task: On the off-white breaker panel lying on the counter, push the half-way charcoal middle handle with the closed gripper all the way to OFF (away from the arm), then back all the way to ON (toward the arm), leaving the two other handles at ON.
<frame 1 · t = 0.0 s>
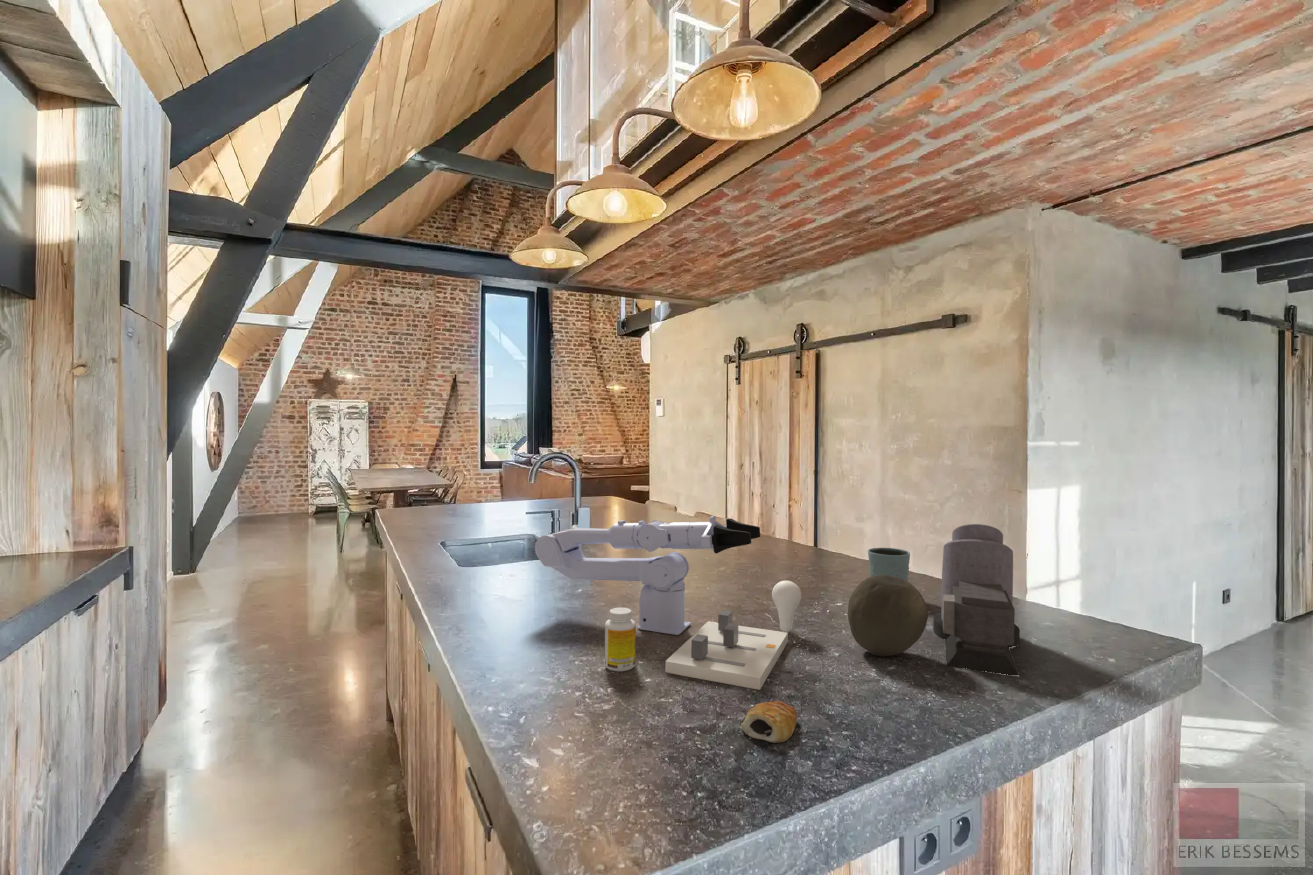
hand: (755, 535, 121), 22 cm above the countertop, tool horizontal, fingers open, 7 cm apart
supplement bottle: (620, 667, 108), on the countertop
cantaloupe: (885, 654, 115), on the countertop
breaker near: (699, 646, 107), point 4 cm above the countertop, slide at -3.5 cm
drinking glass: (888, 597, 154), on the countertop
lightbulb: (786, 633, 127), on the countertop
breaker tripped: (730, 635, 113), point 4 cm above the countertop, slide at 0.0 cm
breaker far: (725, 620, 122), point 4 cm above the countertop, slide at -3.5 cm
juicer: (976, 646, 121), on the countertop
breaker panel: (730, 656, 113), on the countertop
pastry: (770, 731, 86), on the countertop
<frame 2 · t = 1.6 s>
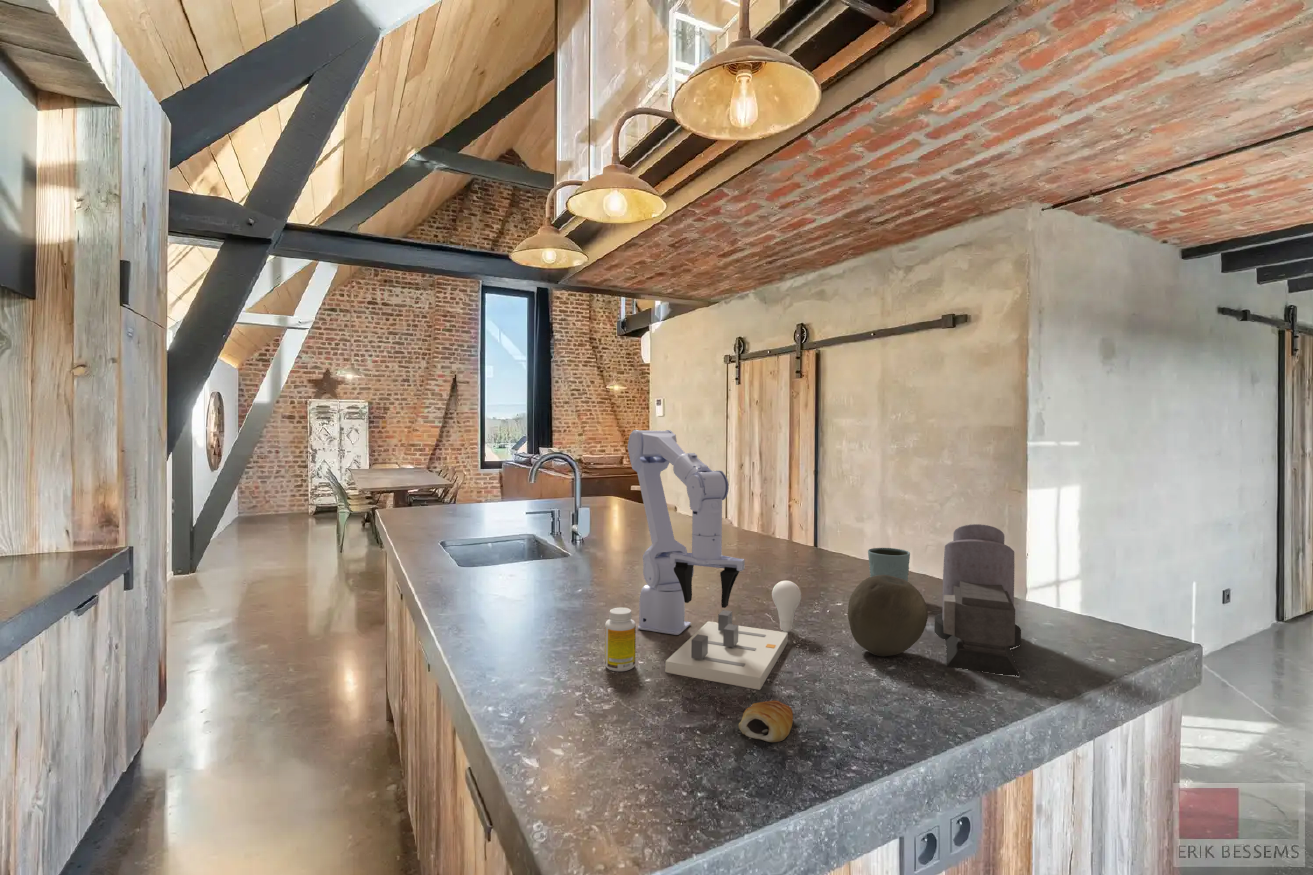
hand: (706, 603, 115), 9 cm above the countertop, tool pointing down, fingers open, 7 cm apart
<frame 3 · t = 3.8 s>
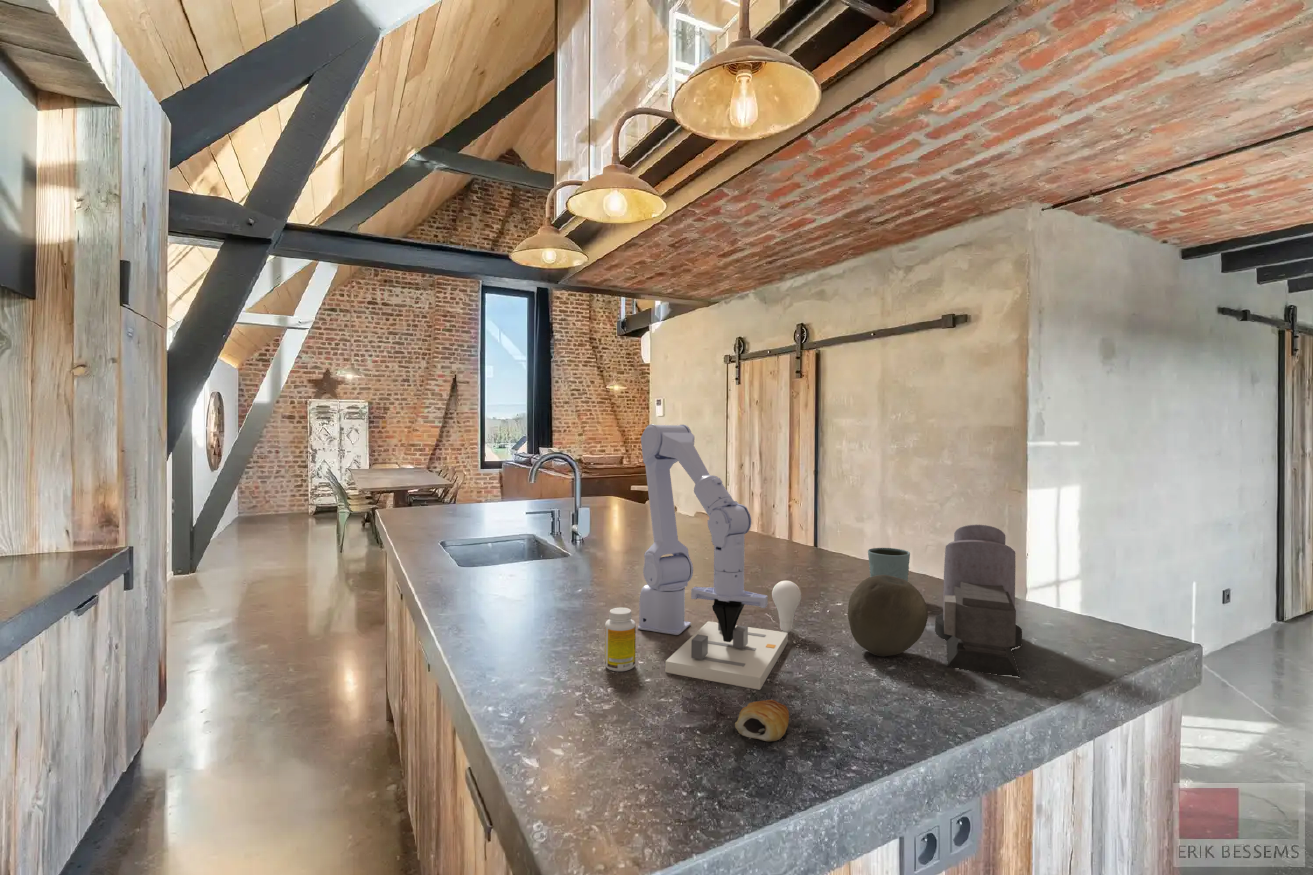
hand: (728, 640, 113), 3 cm above the countertop, tool pointing down, fingers closed
breaker tripped: (740, 636, 112), point 4 cm above the countertop, slide at 1.9 cm, touching gripper
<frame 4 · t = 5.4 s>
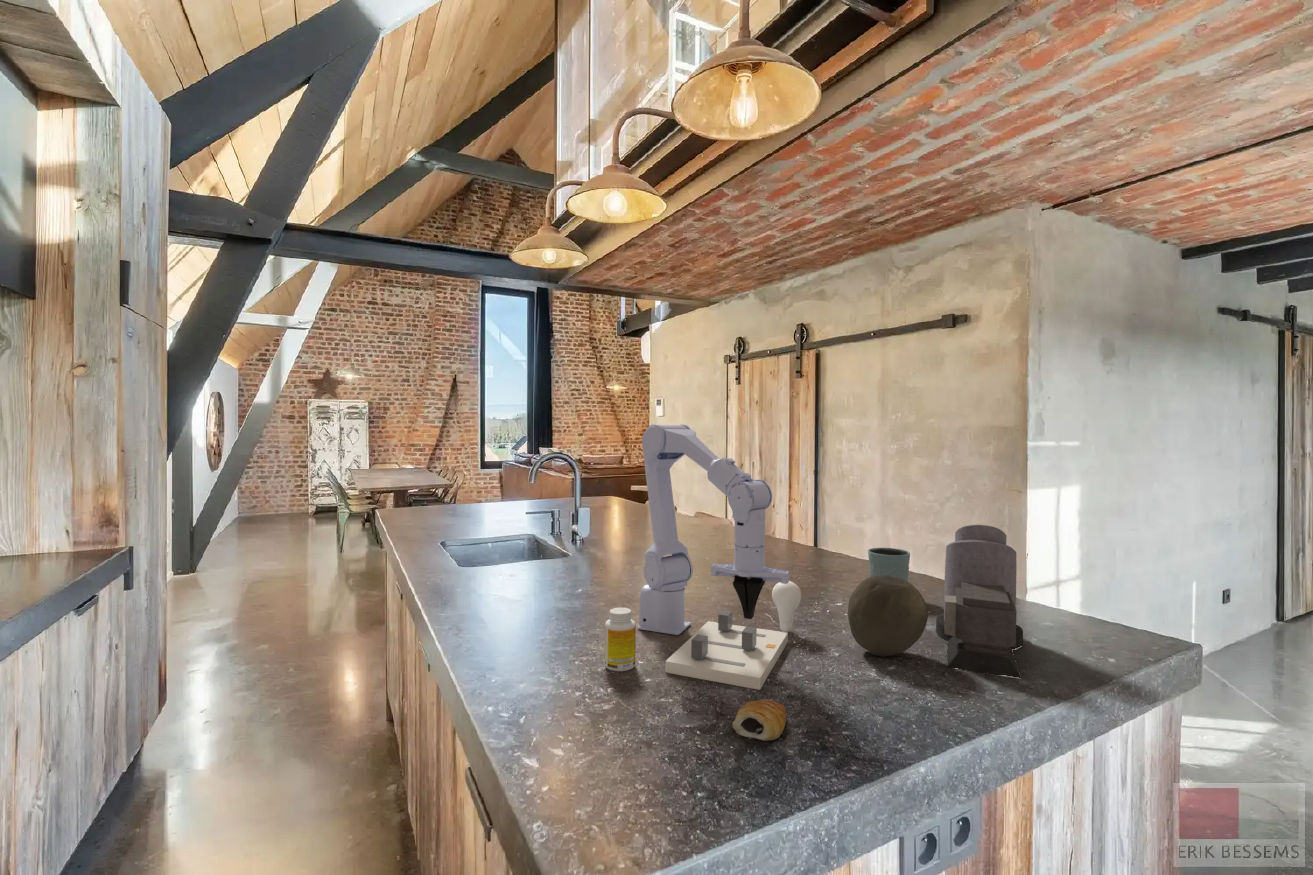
hand: (748, 617, 112), 8 cm above the countertop, tool pointing down, fingers closed
breaker tripped: (749, 638, 112), point 4 cm above the countertop, slide at 3.6 cm
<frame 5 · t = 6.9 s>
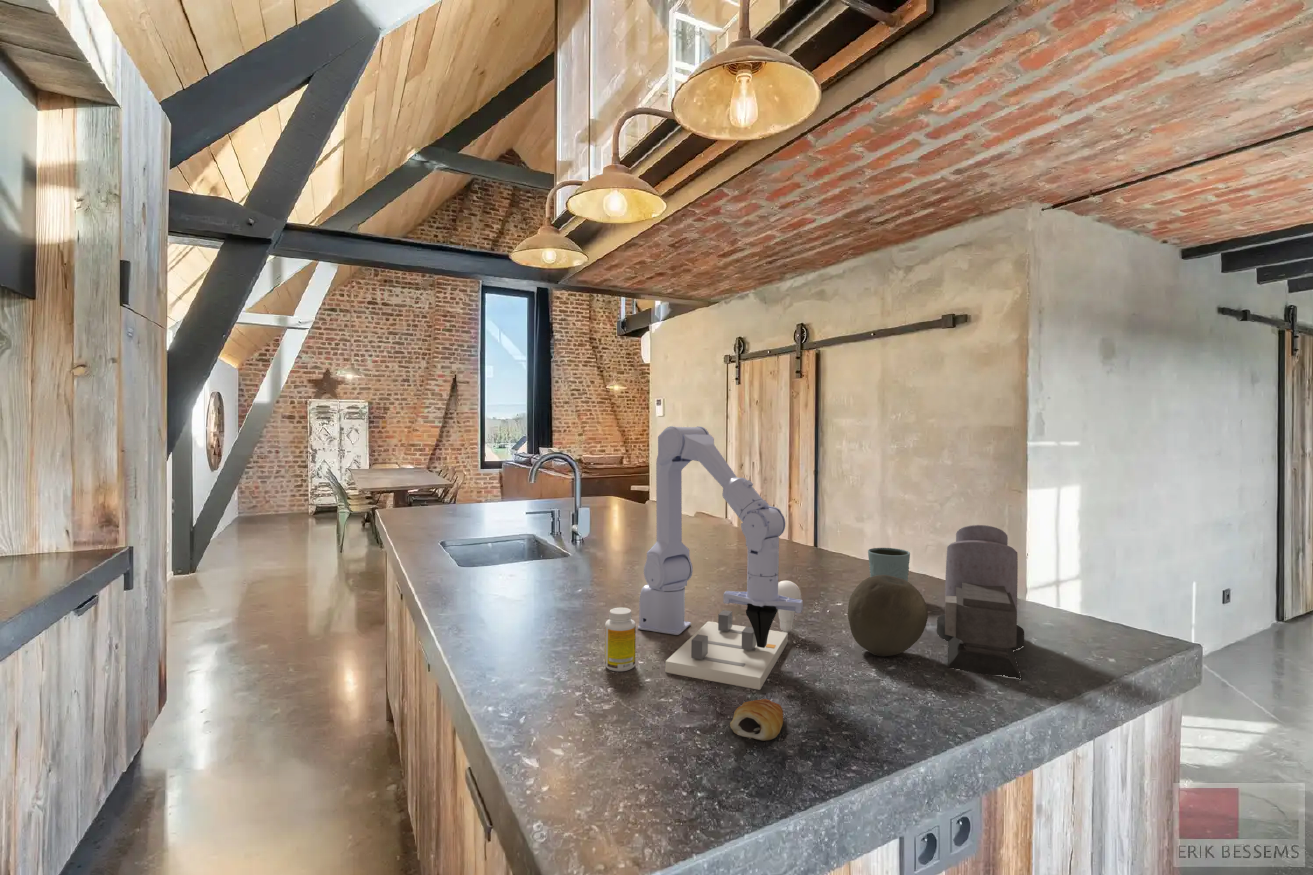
hand: (761, 645, 111), 3 cm above the countertop, tool pointing down, fingers closed
breaker tripped: (749, 638, 112), point 4 cm above the countertop, slide at 3.5 cm, touching gripper
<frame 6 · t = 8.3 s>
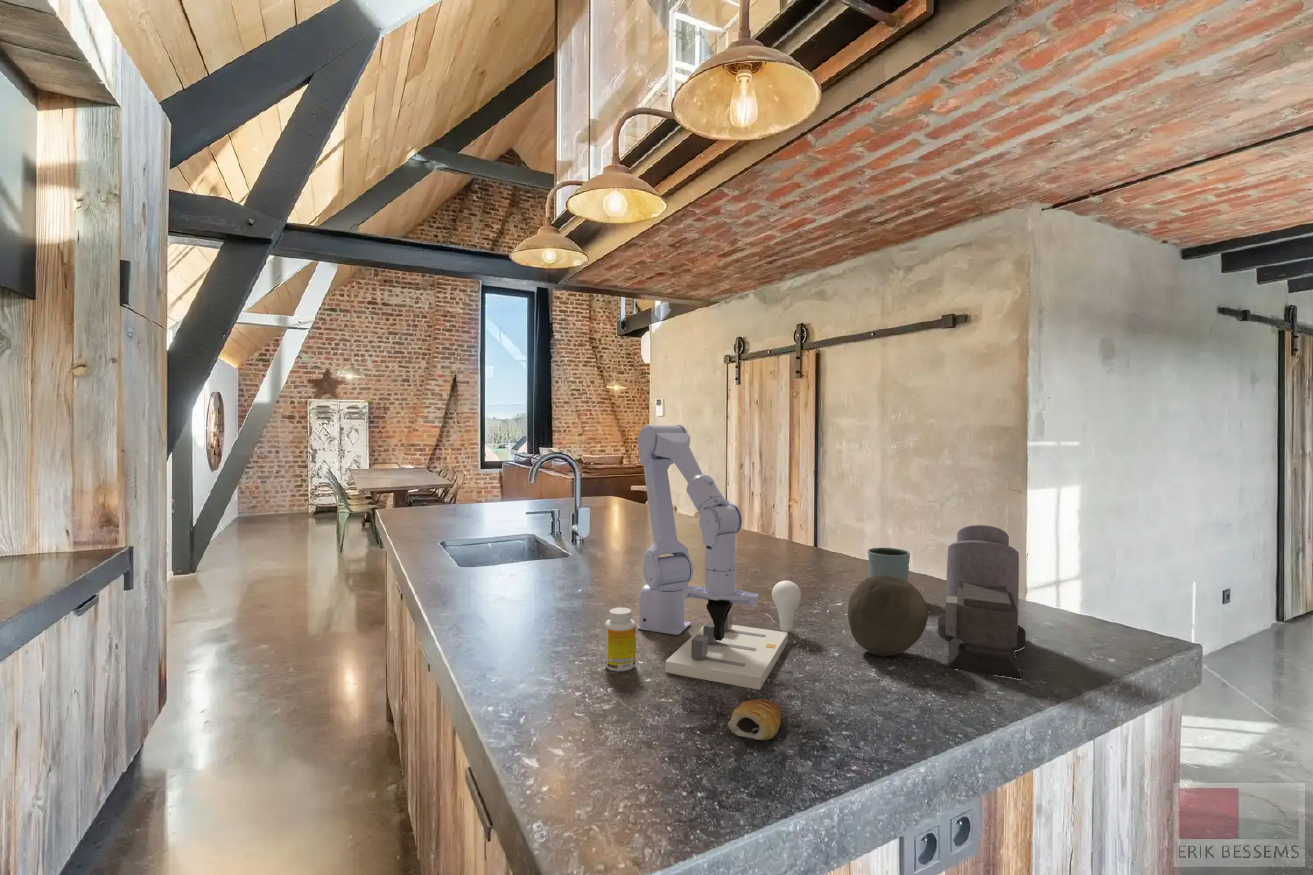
hand: (719, 638, 114), 3 cm above the countertop, tool pointing down, fingers closed
breaker tripped: (710, 632, 115), point 4 cm above the countertop, slide at -4.0 cm, touching gripper
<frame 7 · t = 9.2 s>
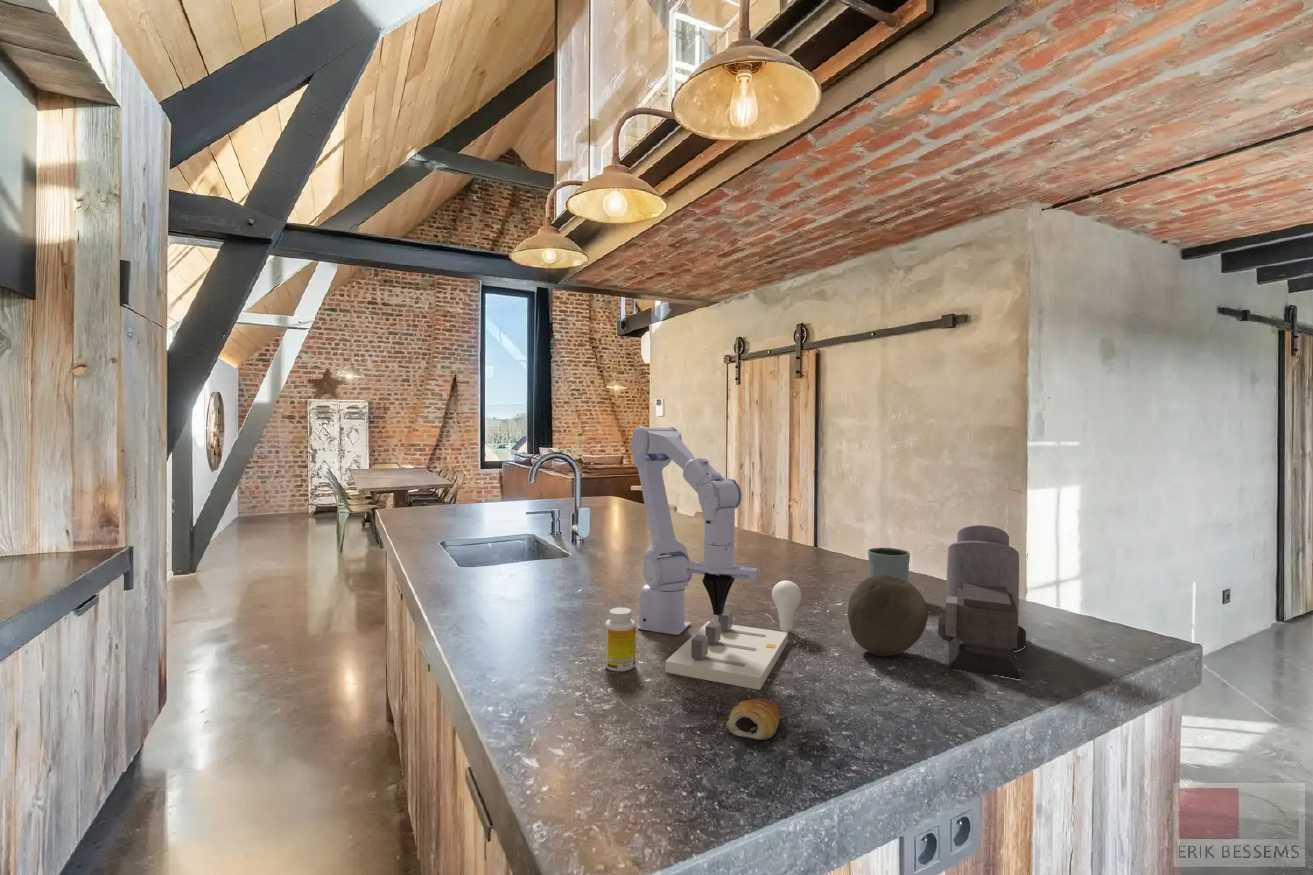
hand: (718, 613, 114), 8 cm above the countertop, tool pointing down, fingers closed
breaker tripped: (713, 632, 115), point 4 cm above the countertop, slide at -3.6 cm
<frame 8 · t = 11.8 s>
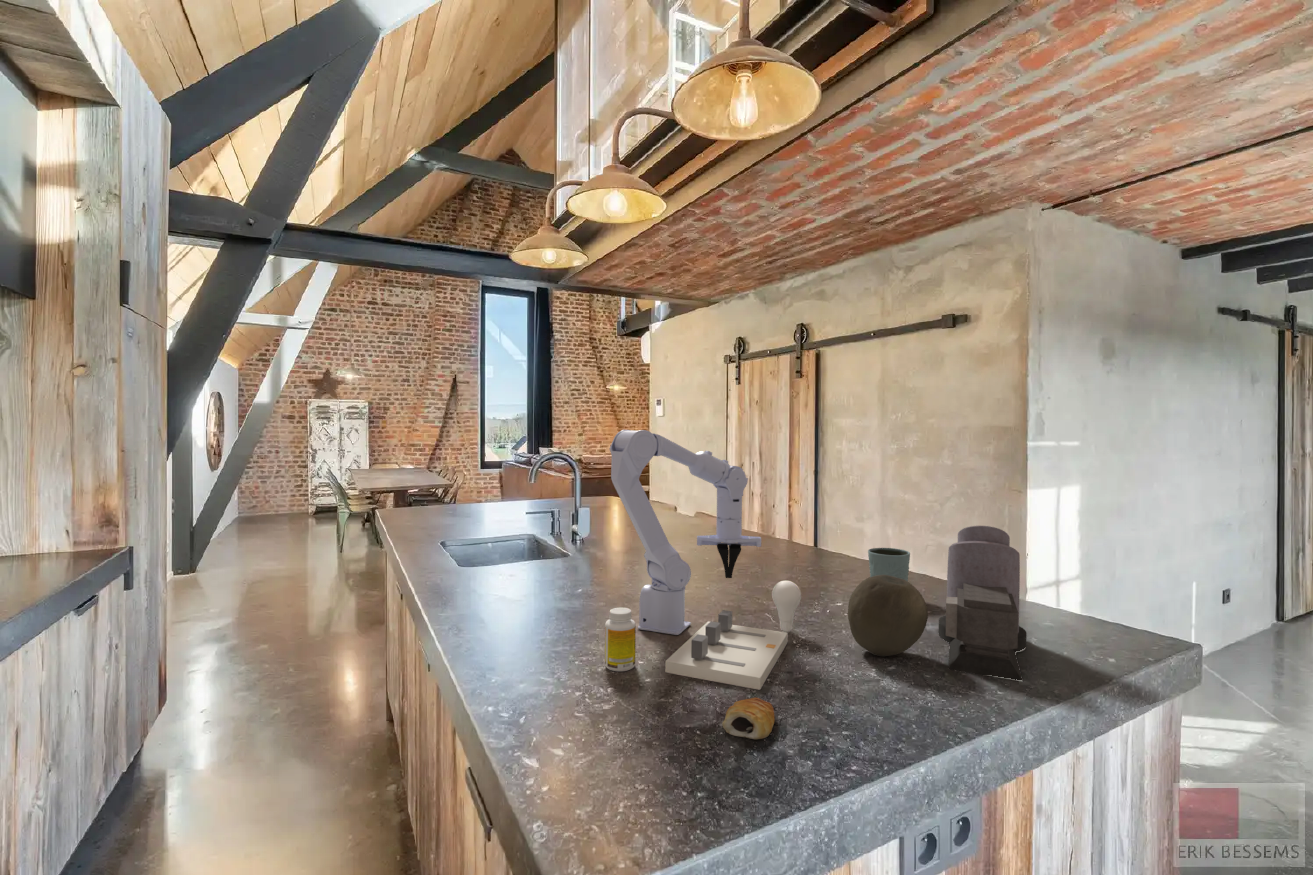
hand: (728, 577, 136), 9 cm above the countertop, tool pointing down, fingers closed
at the end: breaker tripped slide at -3.6 cm; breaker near slide at -3.5 cm; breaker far slide at -3.5 cm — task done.
